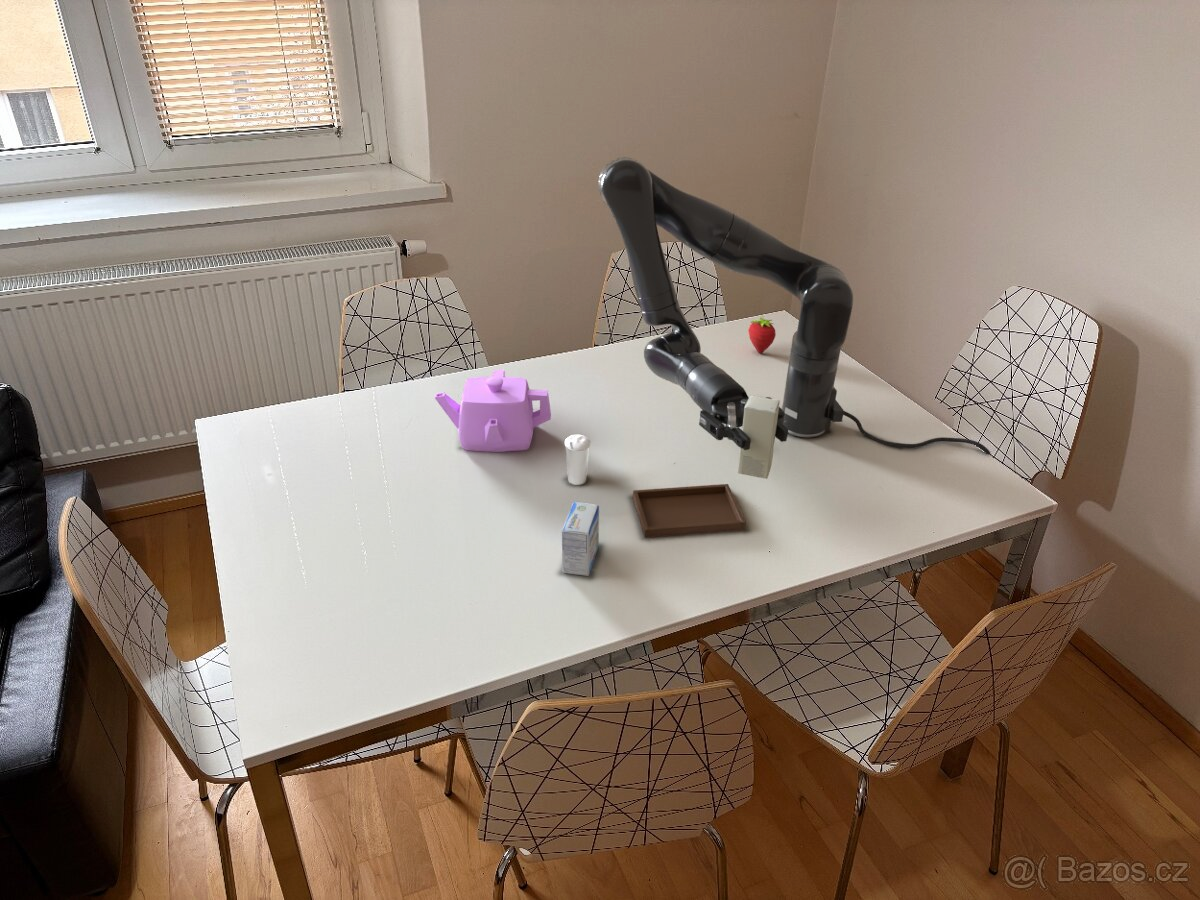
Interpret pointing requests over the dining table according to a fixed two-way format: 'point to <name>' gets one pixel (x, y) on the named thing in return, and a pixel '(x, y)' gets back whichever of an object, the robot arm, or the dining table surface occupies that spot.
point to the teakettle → (496, 413)
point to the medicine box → (580, 538)
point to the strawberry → (761, 334)
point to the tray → (687, 510)
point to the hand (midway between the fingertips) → (766, 440)
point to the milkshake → (577, 458)
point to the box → (759, 436)
